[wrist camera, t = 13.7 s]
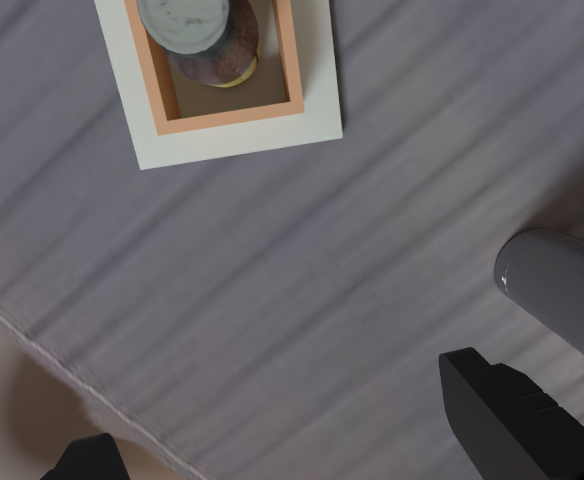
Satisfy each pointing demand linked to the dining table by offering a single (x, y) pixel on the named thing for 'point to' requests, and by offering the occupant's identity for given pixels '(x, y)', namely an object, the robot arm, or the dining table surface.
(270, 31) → the box on white base
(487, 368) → the robot arm
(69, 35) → the dining table surface
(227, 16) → the sauce bottle
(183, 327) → the dining table surface
